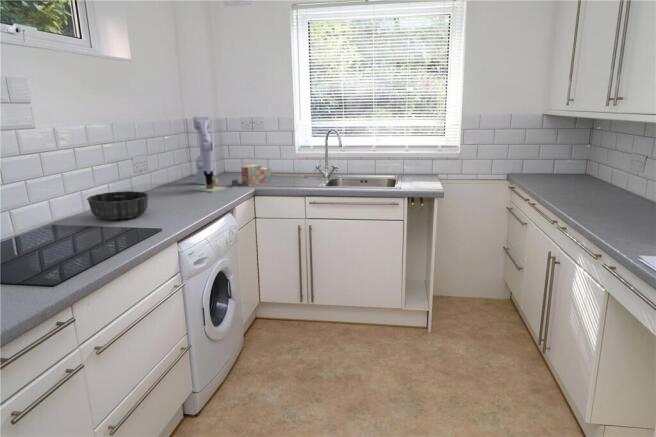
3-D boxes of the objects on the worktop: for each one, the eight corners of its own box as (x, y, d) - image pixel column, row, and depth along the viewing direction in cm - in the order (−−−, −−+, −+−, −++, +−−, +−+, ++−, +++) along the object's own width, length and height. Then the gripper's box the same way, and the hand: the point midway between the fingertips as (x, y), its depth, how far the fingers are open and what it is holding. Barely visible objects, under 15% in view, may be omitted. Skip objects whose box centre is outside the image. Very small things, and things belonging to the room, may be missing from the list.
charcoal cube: (232, 186, 284) (231, 180, 283) (231, 185, 287) (231, 179, 286) (238, 186, 285) (238, 180, 284) (237, 185, 288) (237, 179, 287)
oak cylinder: (209, 186, 282) (209, 179, 280) (214, 185, 285) (214, 178, 284) (214, 187, 280) (214, 179, 278) (219, 186, 283) (219, 178, 282)
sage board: (193, 190, 271) (193, 188, 271) (207, 186, 281) (206, 185, 281) (212, 192, 263) (212, 190, 263) (226, 189, 274) (225, 187, 273)
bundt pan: (134, 207, 226) (131, 188, 224) (161, 215, 210) (159, 195, 208) (80, 217, 207) (77, 196, 204) (105, 226, 190) (102, 204, 188)
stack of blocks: (264, 180, 307) (263, 162, 304) (270, 181, 303) (270, 163, 300) (242, 184, 290) (241, 166, 287) (248, 185, 286) (248, 167, 283)
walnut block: (206, 187, 273) (205, 178, 272) (212, 187, 274) (212, 177, 273) (206, 188, 270) (205, 179, 268) (213, 188, 271) (212, 178, 269)
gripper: (214, 162, 262) (216, 185, 266) (214, 160, 276) (215, 181, 279) (202, 163, 260) (204, 185, 264) (202, 160, 274) (203, 181, 277)
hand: (209, 183), depth 271 cm, fingers open, 7 cm apart
